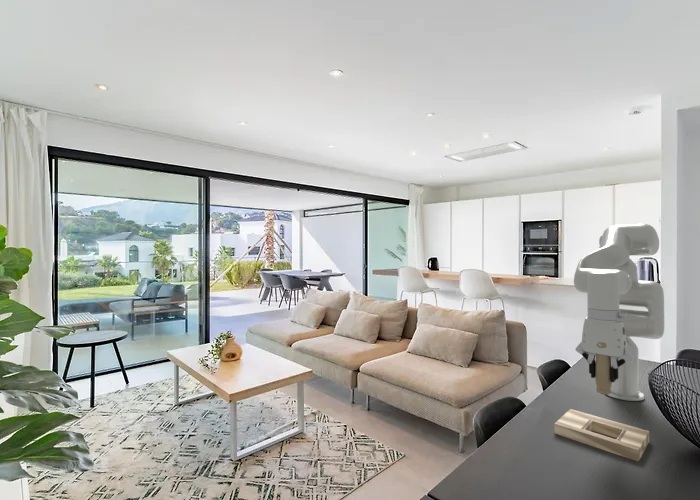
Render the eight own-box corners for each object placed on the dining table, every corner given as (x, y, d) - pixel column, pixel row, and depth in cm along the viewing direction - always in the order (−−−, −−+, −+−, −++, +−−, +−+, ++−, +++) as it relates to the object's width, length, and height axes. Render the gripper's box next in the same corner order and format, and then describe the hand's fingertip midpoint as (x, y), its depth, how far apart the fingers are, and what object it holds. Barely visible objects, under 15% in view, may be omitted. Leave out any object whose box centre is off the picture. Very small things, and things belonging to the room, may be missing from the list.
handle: (613, 398, 102) (612, 344, 102) (587, 391, 107) (587, 339, 107) (619, 394, 105) (619, 341, 105) (594, 387, 110) (594, 337, 110)
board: (570, 418, 120) (570, 408, 120) (649, 441, 105) (649, 430, 105) (554, 433, 110) (554, 423, 110) (638, 461, 96) (638, 449, 96)
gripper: (642, 316, 102) (643, 383, 103) (574, 309, 115) (574, 368, 115) (636, 320, 97) (637, 390, 97) (566, 312, 110) (566, 374, 110)
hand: (603, 378), depth 106 cm, fingers closed on handle, 4 cm apart
